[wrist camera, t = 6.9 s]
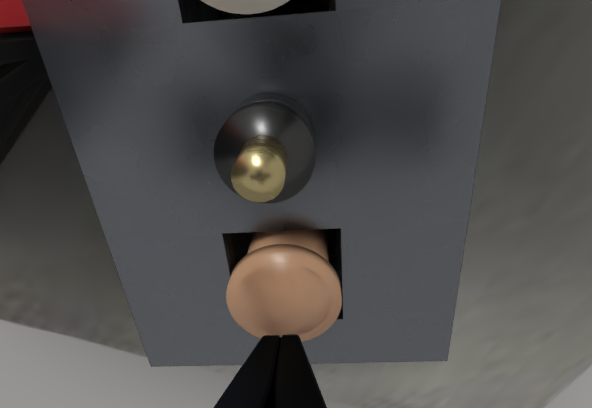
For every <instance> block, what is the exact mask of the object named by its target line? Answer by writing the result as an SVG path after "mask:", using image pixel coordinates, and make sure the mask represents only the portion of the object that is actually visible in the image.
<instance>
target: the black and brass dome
mask: <svg viewBox="0 0 592 408" xmlns="http://www.w3.org/2000/svg"><path fill="white" fill-rule="evenodd" d="M214 162H215V166H216V169H217V171H218V174H219V175H220V177H221V179H222V180H223V182H224V183H225V184H226V185H227V186H228V188H229V189H231V190H232V191H233V192H234V193H236V194H237V195H239V196H240V197H242V198H244V199H247V200H249V201H253V202H257V203H277V202H282V201H284V200H287V199H289V198H291V197H293V196H295V195H296V194H297V193H299V192H300V191H301V190H302V189H303V188H304V187H305V186H306V184H307V183H308V181H309V180H310V178H311V176H312V173H313V170H314V166H315V132H314V127H313V123H312V121H311V118H310V117H309V115H308V113H307V112H306V111H305V109H304V108H303V107H302V106H301V105H300V104H299V103H297V102H296V101H295V100H293V99H291V98H289V97H287V96H285V95H281V94H277V93H261V94H257V95H254V96H252V97H249V98H248V99H246V100H244V101H243V102H242V103H241V104H239V106H238V107H237V108H236V109H235V110H234V111H233V113H232V114H231V115H230V117H229V118H228V119H227V121H226V122H225V123H224V124H223V126H222V127H221V129H220V130H219V132H218V134H217V137H216V140H215V144H214Z"/></svg>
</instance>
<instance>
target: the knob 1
mask: <svg viewBox="0 0 592 408" xmlns="http://www.w3.org/2000/svg"><path fill="white" fill-rule="evenodd" d="M201 1H202V2H204V3H206V4H207V5H209V6H212V7H214V8H216V9H218V10H222V11H225V12H229V13H235V14H256V13H262V12H266V11H270V10H273V9H275V8H277V7H279V6H282V5H284V4H285V3H287V2H288V1H290V0H201Z"/></svg>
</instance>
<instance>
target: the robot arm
mask: <svg viewBox="0 0 592 408" xmlns="http://www.w3.org/2000/svg"><path fill="white" fill-rule="evenodd" d="M214 408H327V407H326V404H325V402H324V399H323V397H322V394H321V391H320V389H319V386H318V383H317V381H316V378H315V376H314V373H313V370H312V368H311V365H310V363H309V360H308V357H307V355H306V352H305V350H304V347H303V344H302V342H301V339H300V337H299V335H297V334H286V335H282V336H280V335H264V336H263V337H262V338H261V339H260V341H259V342H258V343H257V345H256V346H255V348H254V349H253V351H252V352H251V354H250V355H249V357H248V358H247V360H246V361H245V362H244V364H243V365H242V367H241V368H240V370H239V371H238V373H237V374H236V376H235V377H234V379H233V380H232V382H231V383H230V384H229V386H228V387H227V389H226V390H225V392H224V393H223V395H222V396H221V398H220V399H219V401H218V402H217V404H216V405H215V406H214Z"/></svg>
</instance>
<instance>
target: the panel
mask: <svg viewBox="0 0 592 408" xmlns="http://www.w3.org/2000/svg"><path fill="white" fill-rule="evenodd" d="M22 2H23V5H24V8H25V11H26V14H27V17H28V19H29V22H30V25H31V28H32V31H33V34H34V36H35V39H36V42H37V45H38V48H39V51H40V53H41V56H42V59H43V62H44V65H45V68H46V70H47V73H48V76H49V79H50V82H51V85H52V87H53V90H54V93H55V96H56V99H57V102H58V104H59V107H60V110H61V113H62V116H63V119H64V122H65V124H66V127H67V130H68V133H69V136H70V139H71V141H72V144H73V147H74V150H75V153H76V156H77V158H78V161H79V164H80V167H81V170H82V173H83V175H84V178H85V181H86V184H87V187H88V190H89V192H90V195H91V198H92V201H93V204H94V207H95V209H96V212H97V215H98V218H99V221H100V224H101V226H102V229H103V232H104V235H105V238H106V241H107V243H108V246H109V249H110V252H111V255H112V258H113V260H114V263H115V266H116V269H117V272H118V275H119V277H120V280H121V283H122V286H123V289H124V292H125V294H126V297H127V300H128V303H129V306H130V309H131V312H132V314H133V317H134V320H135V323H136V326H137V329H138V331H139V334H140V337H141V340H142V343H143V346H144V348H145V351H146V354H147V357H148V360H149V363H150V365H151V367H152V366H204V365H243V364H244V362H245V361H246V360H247V358H248V357H249V355H250V354H251V352H252V351H253V349H254V348H255V346H256V345H257V343H258V342H259V341H260V339H261V338H258V337H256V336H254V335H252V334H250V333H249V332H247V331H246V330H244V329H243V328H242V327H241V326H240V325H239V324H238V323H237V322H236V321H235V320H234V318H233V317H232V315H231V313H230V311H229V309H228V306H227V301H226V291H227V286H228V283H229V280H230V276H231V274H232V271H233V269H234V268H235V266H236V264H237V263H238V262H239V261H240V260H241V259H242V258H243V257H244V256H245V255H247V253H248V249H249V246H250V242H251V232H266V231H289V230H312V229H335V228H336V245H337V254H328V256H329V263H330V264H331V265H332V267H333V268H334V270H335V271H336V273H337V275H338V277H339V281H340V286H341V295H342V306H341V310H340V313H339V315H338V317H337V319H336V321H335V322H334V323H333V325H332V326H331V327H330V328H329V329H328V330H326V331H325V332H324V333H322V334H321V335H319V336H317V337H315V338H312V339H310V340H306V341H303V342H302V344H303V347H304V350H305V352H306V355H307V357H308V360H309V363H360V362H412V361H447V359H448V353H449V346H450V339H451V333H452V326H453V319H454V312H455V306H456V299H457V292H458V286H459V279H460V272H461V266H462V259H463V252H464V246H465V239H466V232H467V225H468V219H469V212H470V205H471V199H472V192H473V185H474V179H475V172H476V165H477V158H478V152H479V145H480V138H481V132H482V125H483V118H484V112H485V105H486V98H487V92H488V85H489V78H490V71H491V65H492V58H493V51H494V45H495V38H496V31H497V25H498V18H499V11H500V5H501V0H329V10H326V11H314V12H302V13H290V14H278V15H266V16H254V17H241V18H229V19H219V17H218V10H217V9H216V8H214V7H212V6H209V5H207V4H206V3H204V2H202V1H201V0H22ZM261 93H277V94H281V95H285V96H287V97H289V98H291V99H293V100H295V101H296V102H297V103H299V104H300V105H301V106H302V107H303V108H304V109H305V111H306V112H307V113H308V115H309V117H310V118H311V121H312V123H313V127H314V132H315V166H314V170H313V173H312V176H311V178H310V180H309V181H308V183H307V184H306V186H305V187H304V188H303V189H302V190H301V191H300V192H299V193H297V194H296V195H295V196H293V197H291V198H289V199H287V200H284V201H282V202H277V203H257V202H253V201H249V200H247V199H244V198H242V197H240V196H239V195H237V194H236V193H234V192H233V191H232V190H231V189H229V188H228V186H227V185H226V184H225V183H224V182H223V180H222V179H221V177H220V175H219V174H218V171H217V169H216V166H215V162H214V144H215V140H216V137H217V134H218V132H219V130H220V129H221V127H222V126H223V124H224V123H225V122H226V121H227V119H228V118H229V117H230V115H231V114H232V113H233V111H234V110H235V109H236V108H237V107H238V106H239V104H241V103H242V102H243V101H244V100H246V99H248V98H249V97H252V96H254V95H257V94H261Z"/></svg>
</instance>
